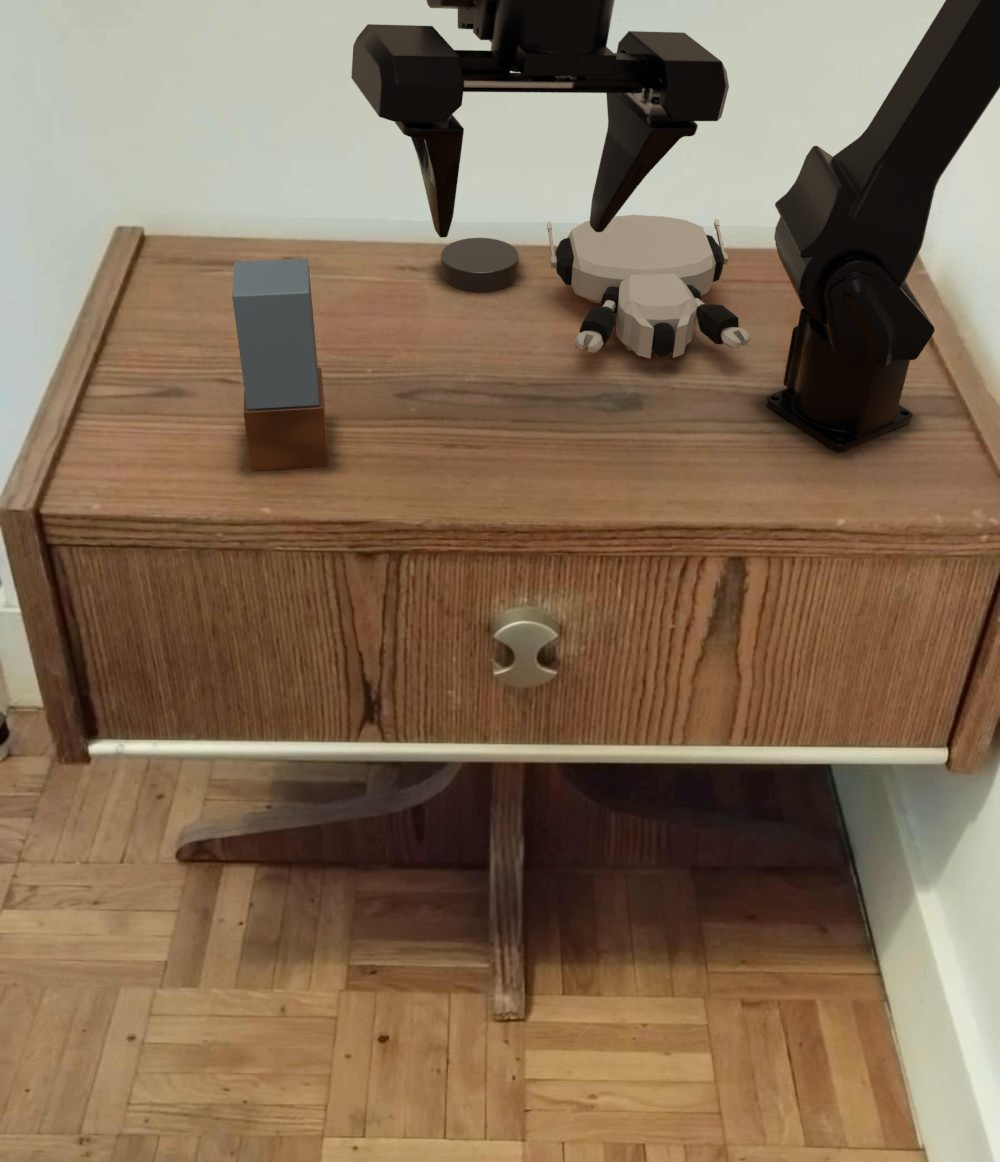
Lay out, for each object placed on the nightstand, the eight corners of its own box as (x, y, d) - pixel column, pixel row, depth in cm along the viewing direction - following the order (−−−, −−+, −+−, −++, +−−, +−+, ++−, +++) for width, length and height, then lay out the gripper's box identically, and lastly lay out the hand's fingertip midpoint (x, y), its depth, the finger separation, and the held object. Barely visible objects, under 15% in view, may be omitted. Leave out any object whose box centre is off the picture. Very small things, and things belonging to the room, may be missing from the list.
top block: (317, 369, 75) (308, 257, 71) (319, 405, 72) (309, 292, 68) (248, 372, 75) (234, 261, 70) (247, 410, 72) (232, 295, 67)
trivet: (533, 279, 93) (534, 260, 92) (468, 299, 90) (468, 279, 89) (490, 249, 96) (490, 231, 95) (426, 268, 94) (426, 249, 93)
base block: (326, 424, 78) (321, 367, 75) (328, 466, 74) (323, 407, 72) (252, 429, 77) (244, 371, 75) (251, 471, 74) (243, 412, 71)
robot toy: (753, 382, 84) (709, 262, 94) (765, 323, 81) (718, 205, 91) (566, 388, 83) (543, 266, 94) (570, 328, 80) (546, 208, 90)
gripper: (668, -110, 70) (613, 168, 80) (332, -133, 63) (317, 173, 73) (768, -49, 62) (694, 251, 72) (396, -68, 56) (371, 264, 65)
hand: (519, 231), depth 71 cm, fingers open, 9 cm apart
